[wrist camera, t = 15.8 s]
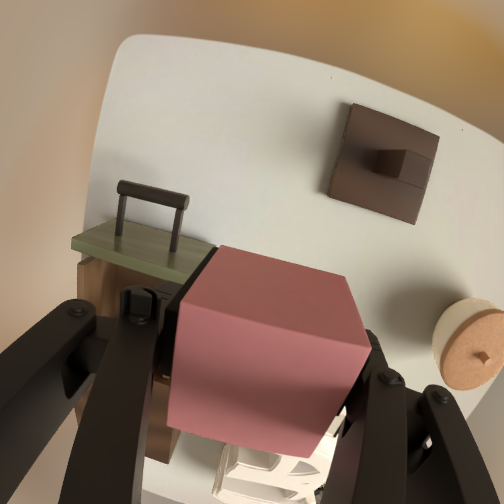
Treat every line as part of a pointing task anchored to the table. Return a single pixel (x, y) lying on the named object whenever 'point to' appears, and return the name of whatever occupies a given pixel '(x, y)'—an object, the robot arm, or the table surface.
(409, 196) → the stand
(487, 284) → the table surface
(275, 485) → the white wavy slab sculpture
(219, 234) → the table surface
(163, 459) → the cabinet
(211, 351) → the block
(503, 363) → the trinket box
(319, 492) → the rock
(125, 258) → the drawer
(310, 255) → the table surface
